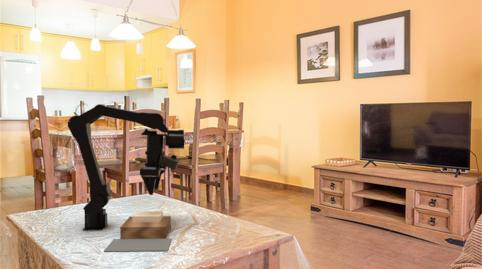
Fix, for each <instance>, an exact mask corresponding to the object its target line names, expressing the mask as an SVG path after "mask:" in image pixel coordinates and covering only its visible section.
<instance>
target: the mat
mask: <svg viewBox="0 0 482 269" xmlns="http://www.w3.org/2000/svg"><path fill="white" fill-rule="evenodd" d="M172 240H173V238H169V237H168V238H167V237H166V238H157V239H120V238H114V239H113V240H112V241H110V242H109V244H108V245H107V247H106V248H105V249H104V250H103V253H122V252H123V253H131V252H133V253H134V252H135V253H137V252H138V253H139V252H140V253H141V252H168V250H169V249H170V246H171V242H173V241H172Z"/></svg>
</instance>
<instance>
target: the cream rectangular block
mask: <svg viewBox="0 0 482 269" xmlns="http://www.w3.org/2000/svg"><path fill="white" fill-rule="evenodd" d="M163 216H164V211H163V210H162V211H161V210H160V211H159V210H158V211H156V210H155V211H153V210H151V211H147V210H146V211H144V210H143V211H142V210H141V211H140V210H139V211H135V213H134V214H133V215H132V222H161V220H162V218H163Z"/></svg>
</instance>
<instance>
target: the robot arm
mask: <svg viewBox="0 0 482 269" xmlns="http://www.w3.org/2000/svg"><path fill="white" fill-rule="evenodd" d="M102 117H107V118H111V119H112V118H113V119H116V120H122V121H128V122H130V123H131V122H133V123H136V124H138V125H141V126H144V127H146V128H145V129H144V131H143V132H141V133H140V135H141V136H146V151H144V154H145V156H146V160H145V161H146V162H145V163H144V166H142V167H141V168H140V169H139V176H140V178H141V179H142V181H143V183H144V186H145V188H146V190H147V192H148V195H149V196H154V190H158V189H159V187H160V182H161V178H162V175H163V174H164V173H165V172H166V171H167V169H168V168H169V169H170V170H173V171H176V169H177V168H178V166H179V162H180V160H179V159H178V156H177V155H175V154H171V156H169V155H166V152H165V150H164V146H165V147H166V146H167V148H168V149H170V150H171V149H175V150H177V149H178V150H181V149H182V150H184V149H185V130H184V129H179V130H178V129H169V128H168V126H166V124H165V119H164V117H163V115H162V114H160V113H158V112H141V111H140V112H139V111H133V110H127V109H123V108H119V107H113V106H108V105H105V104H101V103H97V104H96V105H95V106H94V107H92V108H90V109H89V110H87V111H85V112H82V113H81V114H80V115H79V114H78V115H73V116H71V117H70V118H69V119H68V121H67V127H68V130H69V131H70V133H71V136H72V137H73V139H74V140H75V141H76V143H77V144H78V147H79V152H80V155H81V158H82V161H83V164H84V168H85V170H86V174H87V178H88V181H89V202H87V203H86V204H85V205H84V206H83V211H84V227H83V228H82V231H103V230H104V229H105V228H106V227H107V226H108V213H107V209H106V208H105V206H107V204H108V203H109V201H111V199H112V193H113V190H112V189H111V183H110V181H107V182H106V181H105V180H104V179H103V177H102V172H101V170H100V166H99V163H98V160H97V159H98V158H97V157H96V152H95V149H94V146H93V142H92V127H91V125H92V124H94V123H95V122H96V121H98V120H99V119H101V118H102ZM148 128H149V129H151V130H149V129H148ZM158 131H160V132H161V133H158ZM164 136H165V138H164ZM164 140H165V142H164Z"/></svg>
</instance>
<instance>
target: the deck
mask: <svg viewBox="0 0 482 269" xmlns="http://www.w3.org/2000/svg"><path fill="white" fill-rule="evenodd" d="M132 216H133V215H132ZM132 216H131V215H130V216H129V217H128V218H127V219H126V220H125V221H124V223H123V224H122V225H121V226H120V228H119V229H120V231H119V232H120V235H119V237H120V238H119V239H157V238H167V237H168V235H169V233H170V230H171V227H172V226H171V225H172V223H171V221H172V218H171V216H170V215H166V216H165V215H163V218H162V220H161V222H132Z"/></svg>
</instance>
